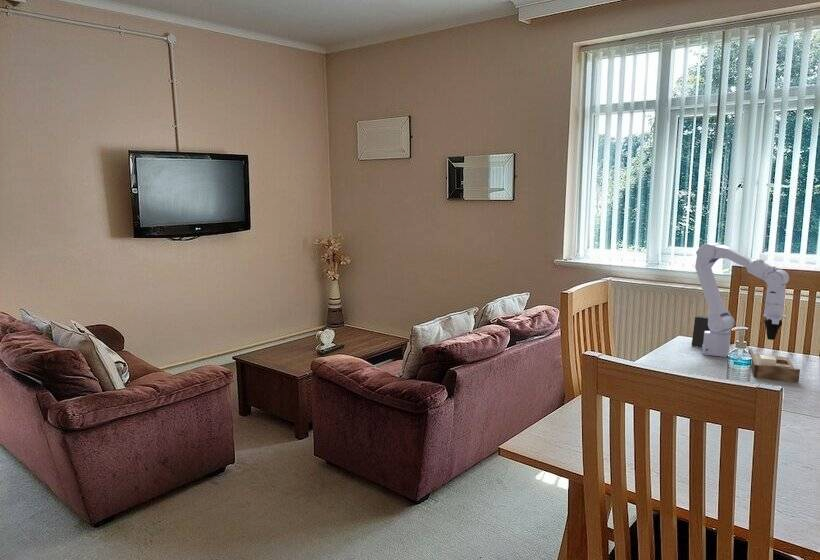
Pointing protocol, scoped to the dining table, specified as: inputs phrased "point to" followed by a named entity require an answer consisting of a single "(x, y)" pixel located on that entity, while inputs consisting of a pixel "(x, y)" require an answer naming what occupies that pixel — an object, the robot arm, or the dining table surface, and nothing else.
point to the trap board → (774, 369)
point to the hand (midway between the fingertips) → (770, 339)
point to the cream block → (767, 360)
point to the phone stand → (699, 330)
